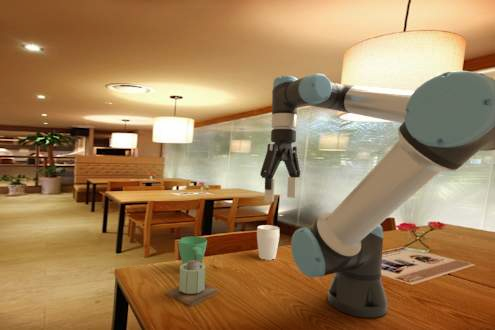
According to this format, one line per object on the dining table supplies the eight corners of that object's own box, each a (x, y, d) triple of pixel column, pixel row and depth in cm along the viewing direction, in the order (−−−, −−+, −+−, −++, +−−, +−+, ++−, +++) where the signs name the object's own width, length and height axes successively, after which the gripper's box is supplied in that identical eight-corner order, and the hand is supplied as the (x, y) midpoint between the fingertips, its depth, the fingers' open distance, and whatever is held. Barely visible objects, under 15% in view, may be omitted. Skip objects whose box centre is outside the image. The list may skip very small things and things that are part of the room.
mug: (174, 265, 103) (175, 237, 103) (201, 262, 107) (202, 235, 107) (183, 281, 90) (184, 249, 90) (213, 277, 94) (214, 246, 94)
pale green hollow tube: (209, 287, 83) (210, 266, 83) (191, 295, 77) (192, 273, 77) (192, 280, 87) (193, 260, 87) (174, 288, 81) (174, 267, 81)
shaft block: (217, 293, 83) (218, 261, 83) (191, 306, 75) (192, 271, 75) (193, 283, 89) (194, 254, 89) (166, 294, 81) (167, 262, 81)
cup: (278, 254, 120) (279, 225, 120) (278, 262, 111) (280, 230, 111) (256, 253, 121) (257, 224, 121) (255, 260, 112) (256, 229, 112)
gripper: (291, 133, 100) (289, 195, 101) (249, 124, 80) (246, 201, 81) (312, 133, 96) (309, 197, 96) (272, 123, 76) (269, 204, 76)
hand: (281, 199), depth 88 cm, fingers open, 13 cm apart
